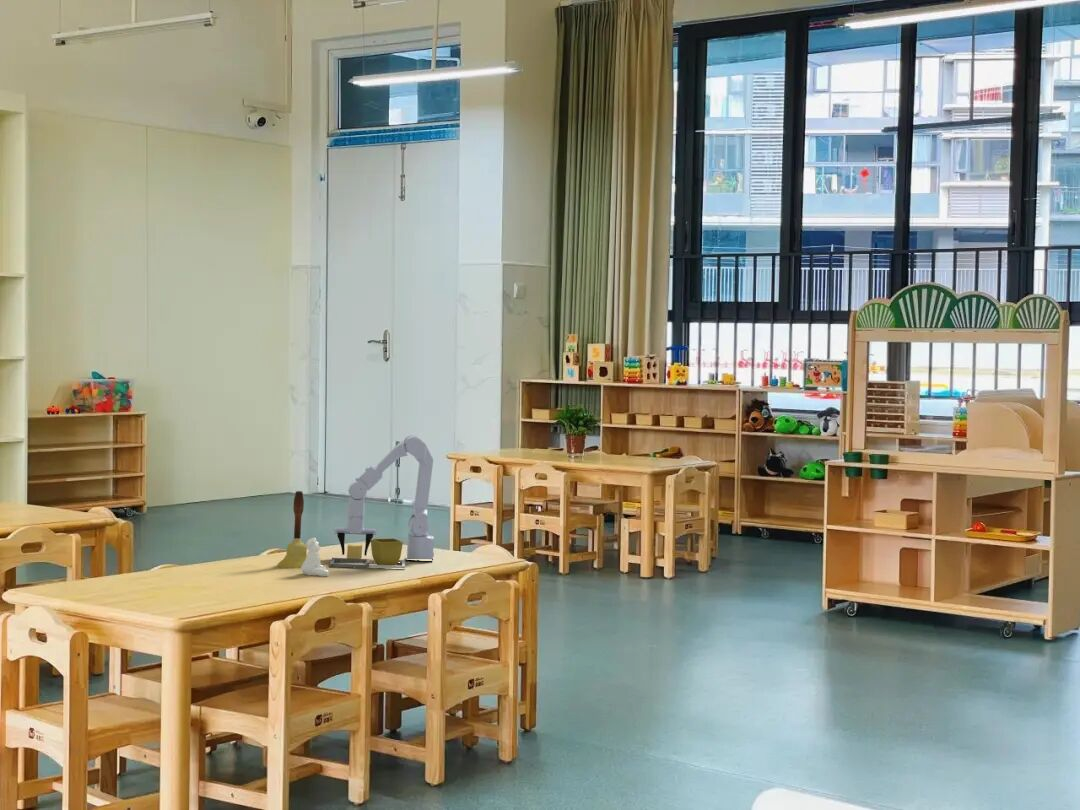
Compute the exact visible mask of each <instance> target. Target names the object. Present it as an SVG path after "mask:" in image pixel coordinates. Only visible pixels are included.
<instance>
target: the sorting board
mask: <svg viewBox="0 0 1080 810" xmlns="http://www.w3.org/2000/svg"><path fill="white" fill-rule="evenodd" d="M335 561H341V562H340V563H336V562H335ZM355 562H367V563H360V564H358V563H355ZM370 562H375V561H374V559H373V558H362V559H353V558H347V557H345V558H344V557H331V559H330V563H329V568H332V567H355V568H354V569H363V568H405V569H406V565H405V564H406V559H405V560H404V559H399V561H398V562H400V563H402V564H401V565H396V566H395V565H376V564H371V563H370ZM369 564H370V565H369Z"/></svg>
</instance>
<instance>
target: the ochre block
mask: <svg viewBox="0 0 1080 810" xmlns="http://www.w3.org/2000/svg"><path fill="white" fill-rule="evenodd" d="M346 549H347V550H346V558H353V559H361V558H362V559H363V557H362V555H363V544H361V543H360V544H359V543H358V544H356V543H348V544H347V548H346Z"/></svg>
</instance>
